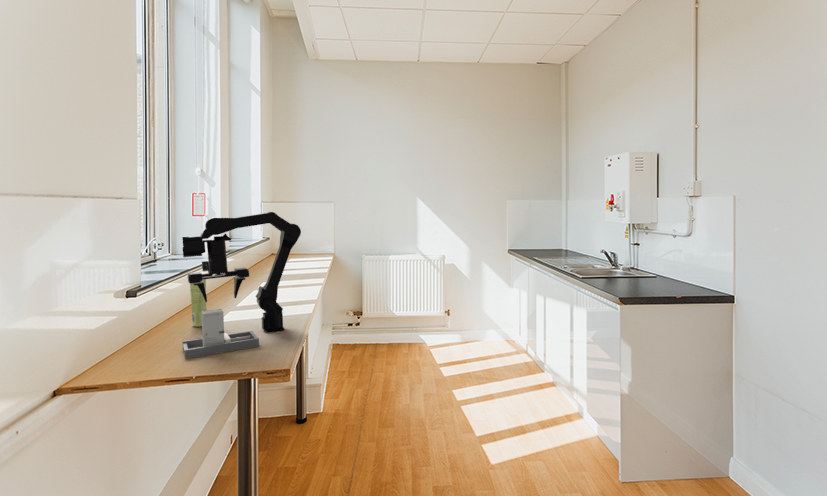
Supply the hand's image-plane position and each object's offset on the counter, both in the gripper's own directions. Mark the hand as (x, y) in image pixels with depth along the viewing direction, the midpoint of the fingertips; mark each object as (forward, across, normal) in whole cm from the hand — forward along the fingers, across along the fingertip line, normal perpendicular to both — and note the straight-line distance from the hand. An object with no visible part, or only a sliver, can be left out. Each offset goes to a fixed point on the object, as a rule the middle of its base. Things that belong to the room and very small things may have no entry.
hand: (220, 300), depth 153 cm
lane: (+13, +3, +13) cm, 18 cm away
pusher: (+12, -2, +13) cm, 18 cm away
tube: (+13, +5, -21) cm, 25 cm away
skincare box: (+13, +5, +13) cm, 19 cm away
